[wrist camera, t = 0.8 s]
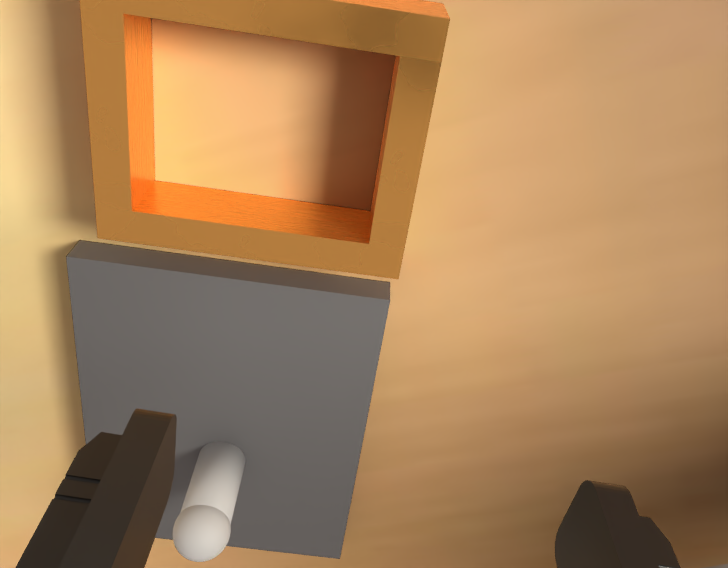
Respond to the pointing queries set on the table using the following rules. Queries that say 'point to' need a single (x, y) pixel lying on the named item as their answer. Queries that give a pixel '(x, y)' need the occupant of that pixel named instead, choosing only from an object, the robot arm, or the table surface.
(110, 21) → the link ring
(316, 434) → the plate
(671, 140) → the table surface
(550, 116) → the table surface
